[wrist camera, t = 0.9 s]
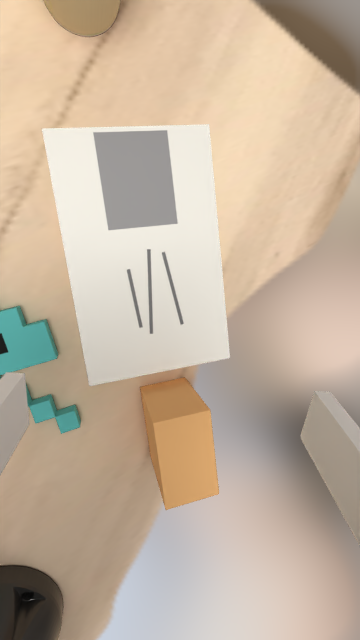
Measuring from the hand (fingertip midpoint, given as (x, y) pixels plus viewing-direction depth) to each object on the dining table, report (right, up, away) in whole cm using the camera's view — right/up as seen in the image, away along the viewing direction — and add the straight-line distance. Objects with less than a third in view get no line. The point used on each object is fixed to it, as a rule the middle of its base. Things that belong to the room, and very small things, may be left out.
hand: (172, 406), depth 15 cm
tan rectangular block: (-1, -9, +28) cm, 30 cm away
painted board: (-4, +11, +24) cm, 27 cm away
